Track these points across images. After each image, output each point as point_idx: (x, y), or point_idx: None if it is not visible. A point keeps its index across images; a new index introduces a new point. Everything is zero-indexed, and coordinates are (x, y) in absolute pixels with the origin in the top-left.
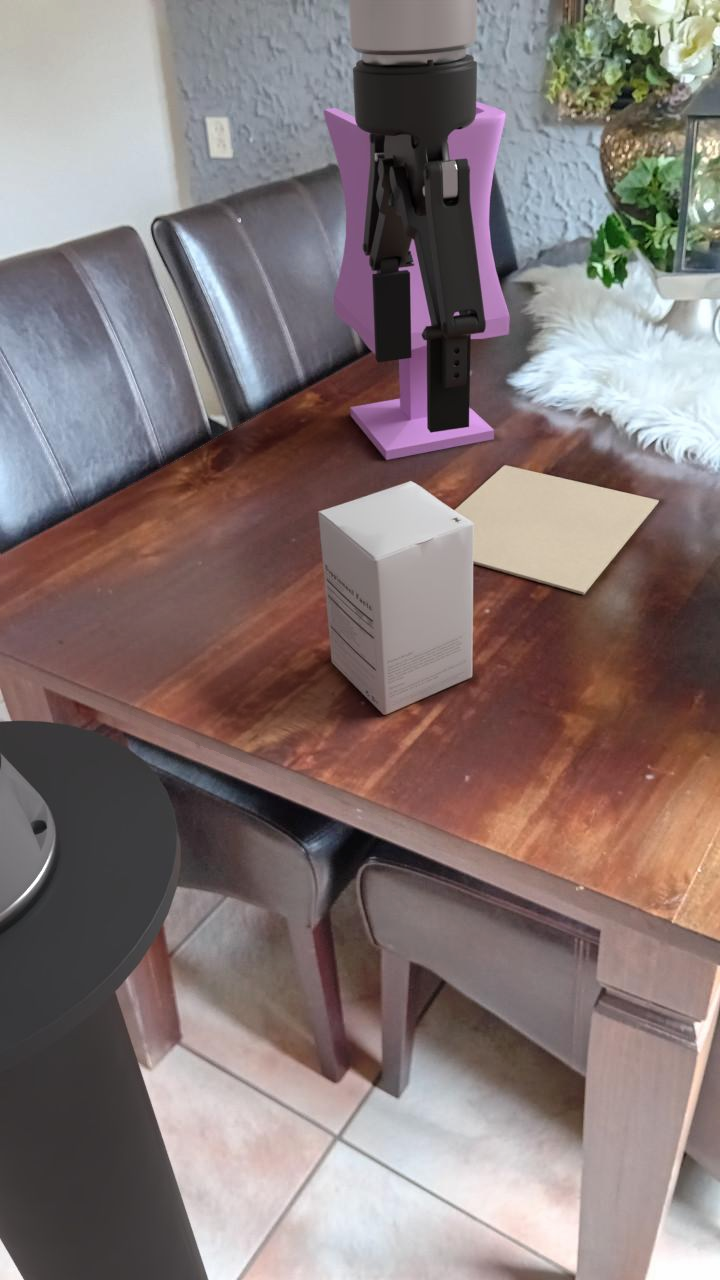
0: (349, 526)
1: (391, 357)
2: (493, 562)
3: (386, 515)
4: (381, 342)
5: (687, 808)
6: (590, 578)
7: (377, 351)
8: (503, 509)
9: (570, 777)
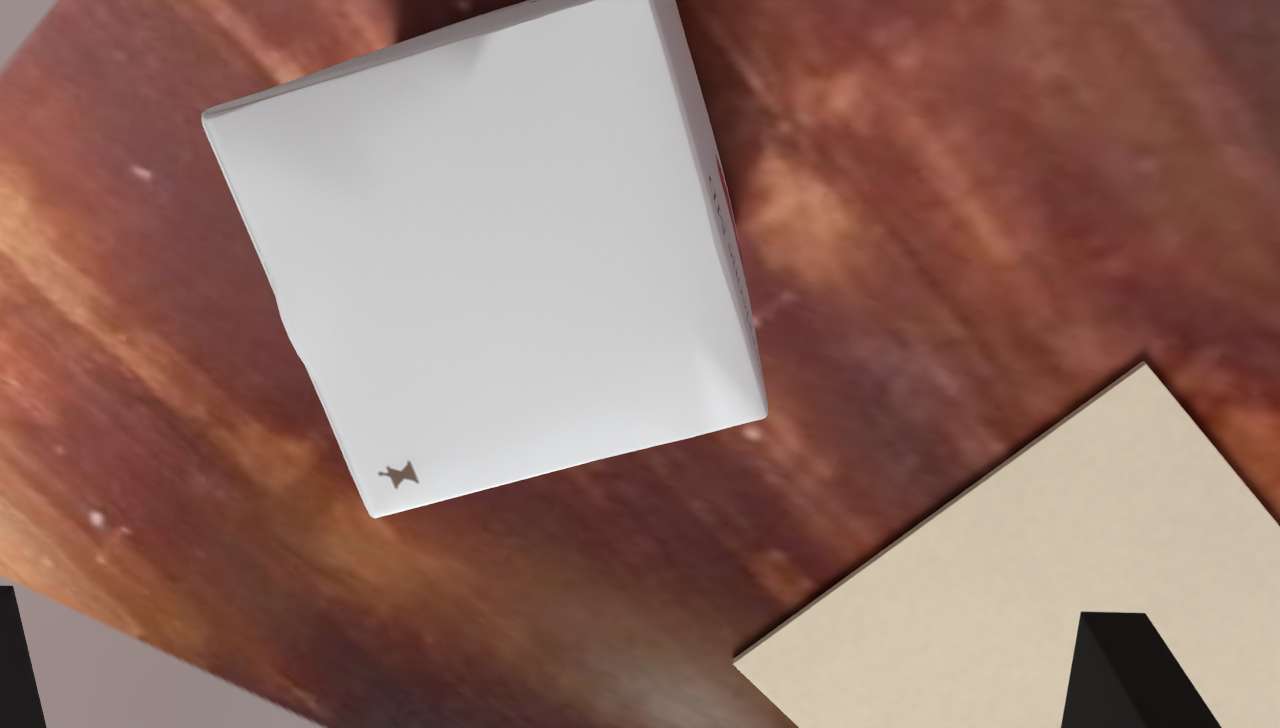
0: (463, 82)
1: (1075, 700)
2: (953, 525)
3: (500, 248)
4: (1123, 720)
5: (4, 541)
6: (783, 699)
7: (1111, 655)
8: (1205, 643)
9: (114, 380)
